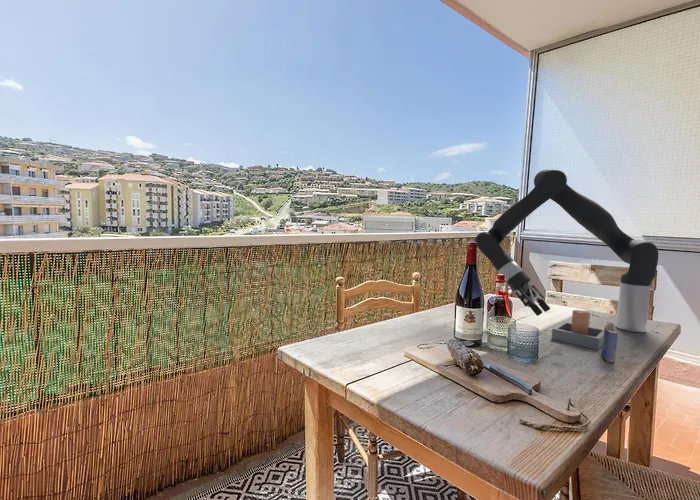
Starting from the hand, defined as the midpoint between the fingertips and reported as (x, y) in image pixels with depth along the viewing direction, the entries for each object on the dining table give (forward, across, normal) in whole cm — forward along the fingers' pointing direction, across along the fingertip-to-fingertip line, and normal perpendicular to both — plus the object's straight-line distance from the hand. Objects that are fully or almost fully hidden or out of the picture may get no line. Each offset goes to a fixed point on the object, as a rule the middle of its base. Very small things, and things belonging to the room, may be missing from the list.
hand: (544, 312), depth 135 cm
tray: (+13, 0, -3) cm, 14 cm away
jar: (+13, 0, -4) cm, 13 cm away
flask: (+20, -13, -10) cm, 26 cm away
